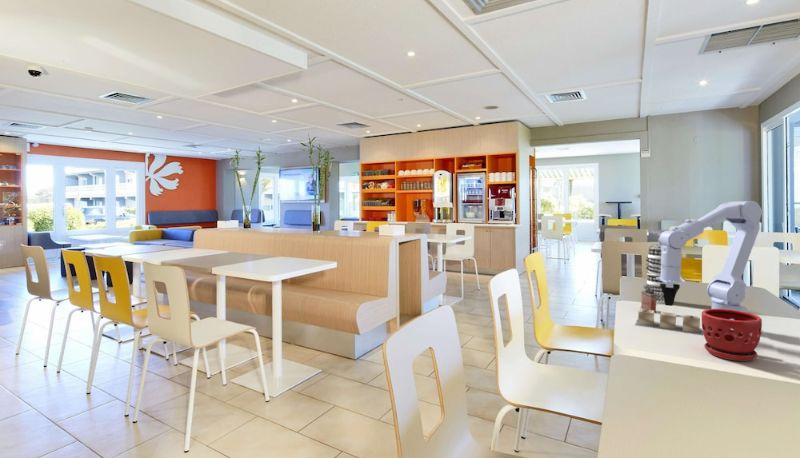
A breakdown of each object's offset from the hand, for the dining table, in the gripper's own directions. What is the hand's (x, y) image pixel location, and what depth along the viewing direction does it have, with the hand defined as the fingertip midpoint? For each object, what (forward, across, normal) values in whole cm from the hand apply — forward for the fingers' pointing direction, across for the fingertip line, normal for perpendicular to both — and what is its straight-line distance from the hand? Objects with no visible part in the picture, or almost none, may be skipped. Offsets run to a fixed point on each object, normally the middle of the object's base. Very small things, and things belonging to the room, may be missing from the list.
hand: (668, 305), depth 141 cm
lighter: (+8, -23, -7) cm, 25 cm away
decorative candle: (+8, -47, -5) cm, 48 cm away
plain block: (+8, 0, 0) cm, 8 cm away
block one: (+8, 0, +6) cm, 10 cm away
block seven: (+8, 0, -7) cm, 10 cm away
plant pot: (+8, +22, +15) cm, 28 cm away
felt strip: (+8, 0, 0) cm, 8 cm away
